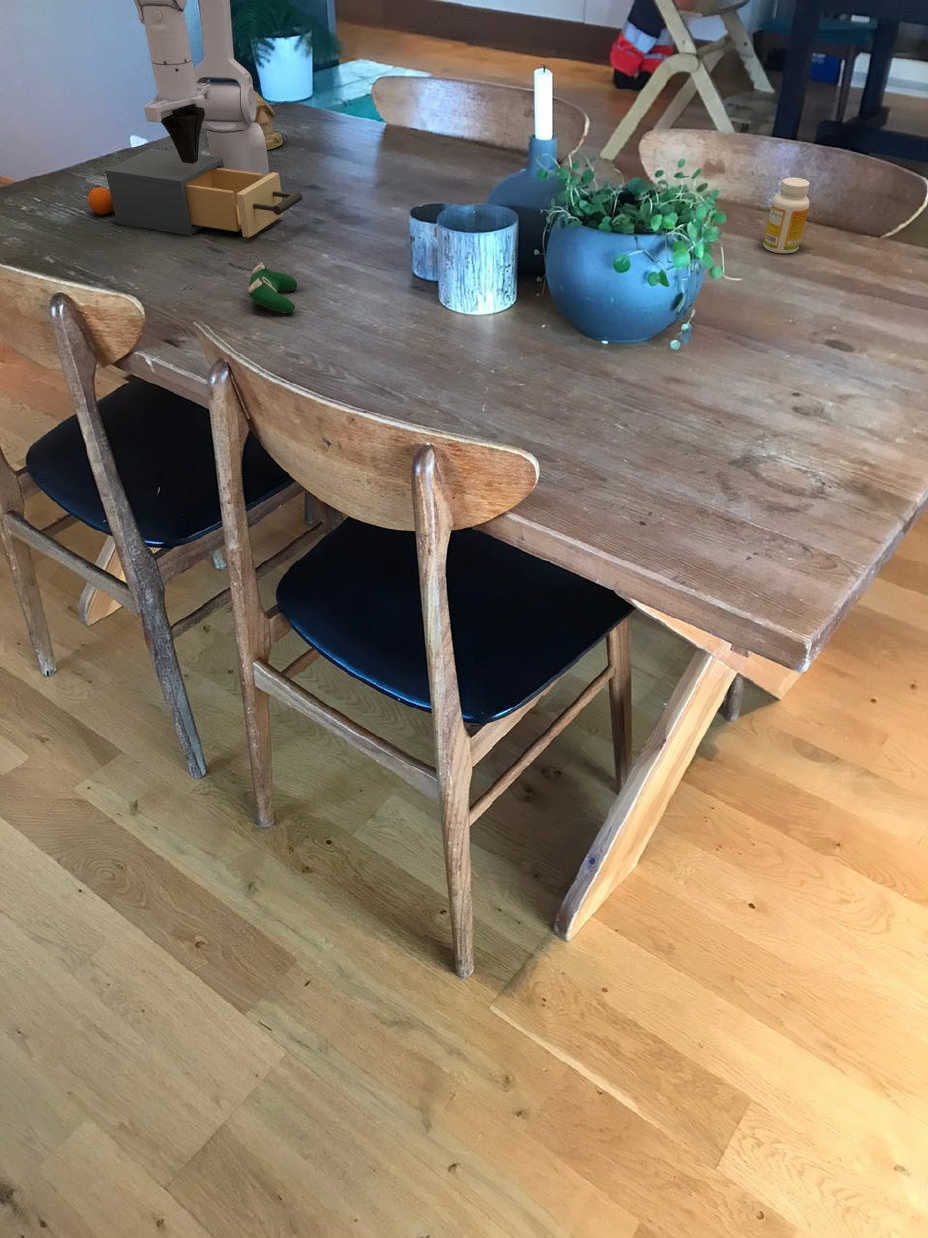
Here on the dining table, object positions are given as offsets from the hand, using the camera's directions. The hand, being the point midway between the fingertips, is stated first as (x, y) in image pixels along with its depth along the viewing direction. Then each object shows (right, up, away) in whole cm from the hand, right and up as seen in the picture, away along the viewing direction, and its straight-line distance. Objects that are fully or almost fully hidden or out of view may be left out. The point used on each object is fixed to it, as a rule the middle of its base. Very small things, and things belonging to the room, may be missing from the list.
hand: (189, 161), depth 142 cm
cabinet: (-5, -5, +9) cm, 11 cm away
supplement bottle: (+91, -13, +2) cm, 92 cm away
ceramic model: (+1, +23, +40) cm, 46 cm away
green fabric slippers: (+16, -27, -15) cm, 35 cm away
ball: (-17, -2, +8) cm, 19 cm away
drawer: (+8, -7, +5) cm, 12 cm away
